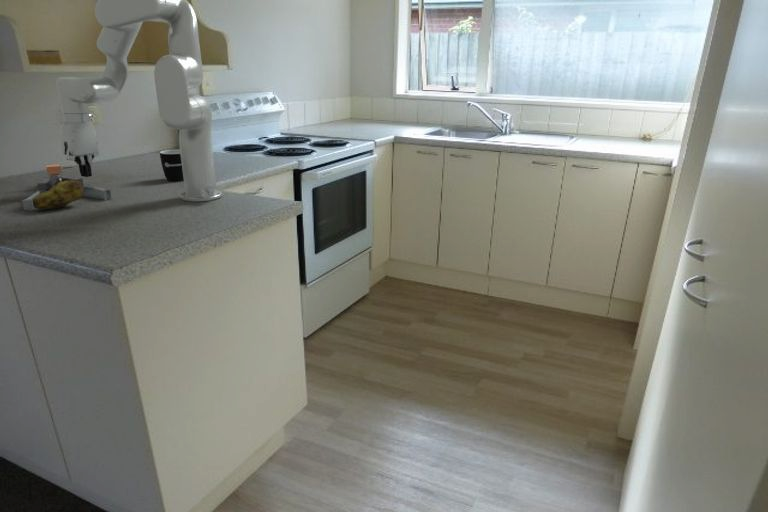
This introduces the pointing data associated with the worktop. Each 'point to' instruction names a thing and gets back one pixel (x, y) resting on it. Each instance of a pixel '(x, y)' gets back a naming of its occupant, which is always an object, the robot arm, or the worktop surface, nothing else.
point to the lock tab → (53, 169)
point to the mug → (172, 165)
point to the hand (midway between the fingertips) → (86, 176)
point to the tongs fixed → (41, 190)
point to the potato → (59, 195)
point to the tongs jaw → (90, 189)
